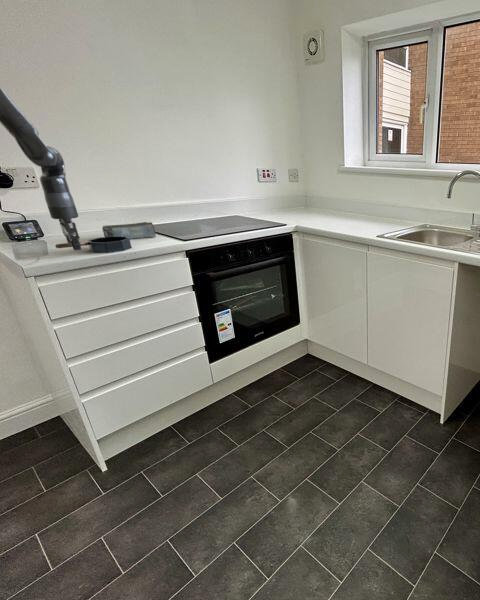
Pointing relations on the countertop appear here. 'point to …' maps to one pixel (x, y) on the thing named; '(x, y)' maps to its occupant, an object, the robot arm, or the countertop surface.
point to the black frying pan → (103, 244)
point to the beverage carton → (130, 230)
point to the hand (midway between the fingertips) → (75, 248)
